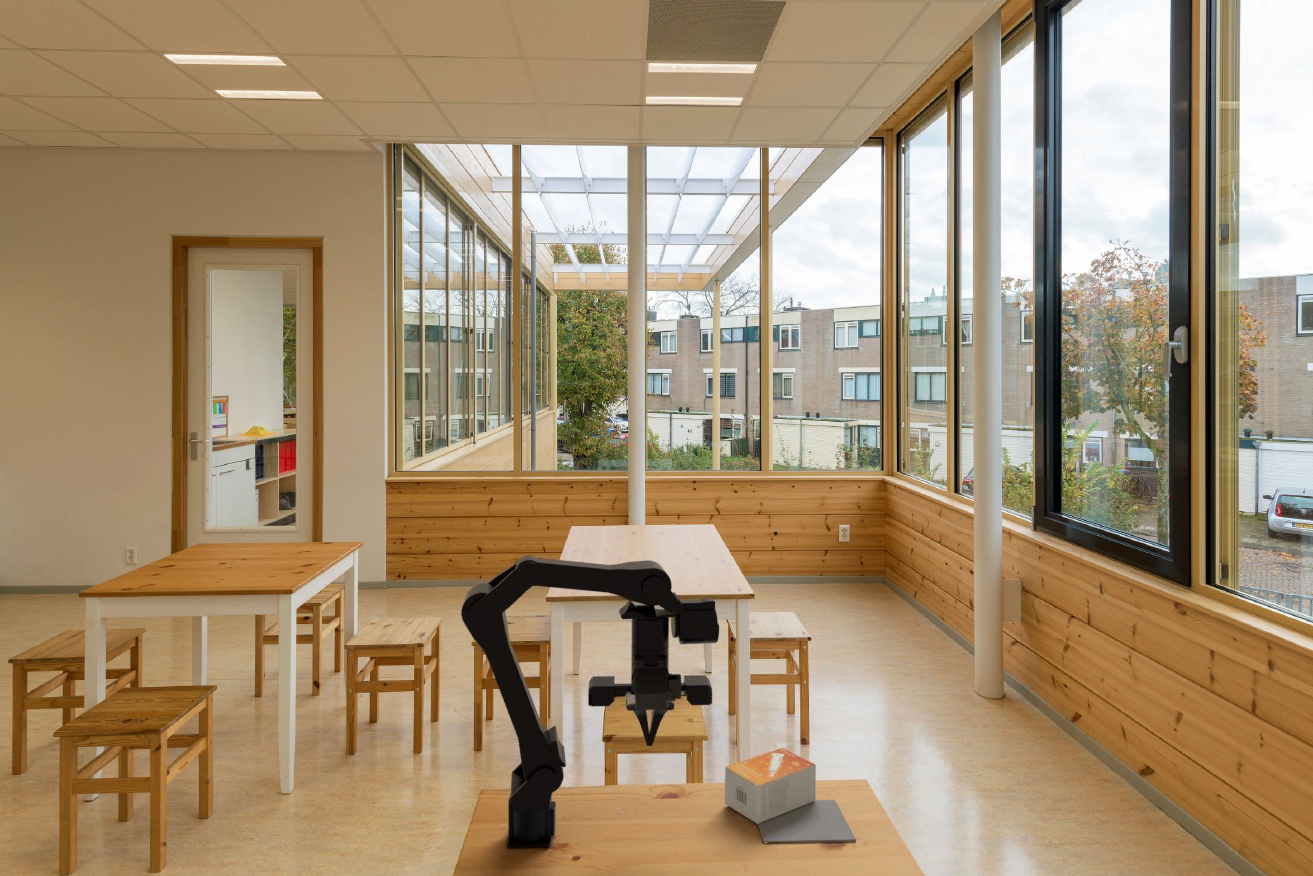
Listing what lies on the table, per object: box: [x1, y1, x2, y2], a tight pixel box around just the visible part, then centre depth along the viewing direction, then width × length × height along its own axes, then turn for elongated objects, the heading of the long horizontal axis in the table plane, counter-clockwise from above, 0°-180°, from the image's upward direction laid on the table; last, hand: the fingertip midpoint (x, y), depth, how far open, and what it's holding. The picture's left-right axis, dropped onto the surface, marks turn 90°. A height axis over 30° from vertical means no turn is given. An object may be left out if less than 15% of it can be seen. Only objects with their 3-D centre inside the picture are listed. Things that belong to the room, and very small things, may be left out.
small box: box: [724, 747, 817, 825], centre depth 131 cm, size 8×6×13 cm
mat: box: [757, 799, 857, 844], centre depth 126 cm, size 14×12×1 cm
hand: (649, 745), depth 123 cm, fingers closed
